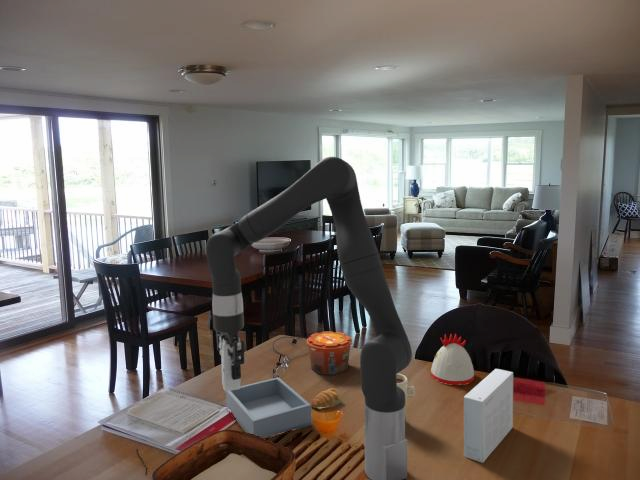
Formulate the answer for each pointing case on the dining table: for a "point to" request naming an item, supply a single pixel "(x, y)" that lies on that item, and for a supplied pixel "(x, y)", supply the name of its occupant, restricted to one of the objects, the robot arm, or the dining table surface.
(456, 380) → the chicken hat
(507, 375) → the skincare box
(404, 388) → the character mug
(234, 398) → the tote
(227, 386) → the skincare box
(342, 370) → the food container
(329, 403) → the pastry
